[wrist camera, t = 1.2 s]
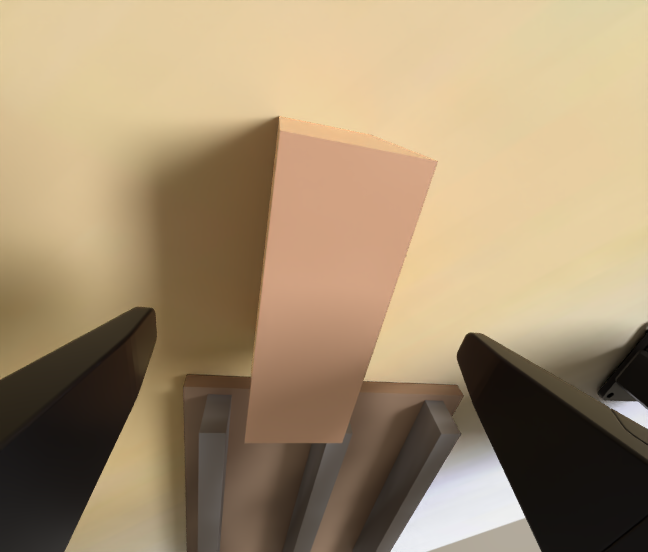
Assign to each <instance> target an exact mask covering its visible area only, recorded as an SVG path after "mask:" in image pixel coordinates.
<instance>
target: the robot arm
mask: <svg viewBox="0 0 648 552" xmlns="http://www.w3.org/2000/svg"><path fill="white" fill-rule="evenodd" d="M156 338H157V329H156V315H155V310H154V309H153V308H147V307H135V308H133V309H131V310H129V311H127V312H125V313H123V314H122V315H120V316H118V317H116V318H114V319H112V320H110V321H109V322H107V323H105V324H103V325H101V326H99V327H97V328H96V329H94V330H92V331H90V332H88V333H86V334H85V335H83V336H81V337H79V338H77V339H75V340H73V341H72V342H70V343H68V344H66V345H64V346H62V347H60V348H59V349H57V350H55V351H53V352H51V353H49V354H47V355H46V356H44V357H42V358H40V359H38V360H36V361H34V362H33V363H31V364H29V365H27V366H25V367H23V368H21V369H20V370H18V371H16V372H14V373H12V374H10V375H8V376H7V377H5V378H3V379H1V380H0V552H64V551H65V549H66V547H67V545H68V543H69V541H70V539H71V537H72V534H73V532H74V530H75V528H76V526H77V524H78V522H79V520H80V517H81V515H82V513H83V511H84V509H85V507H86V505H87V503H88V501H89V498H90V496H91V494H92V492H93V490H94V488H95V486H96V484H97V482H98V479H99V477H100V475H101V473H102V471H103V469H104V467H105V465H106V462H107V460H108V458H109V456H110V454H111V452H112V450H113V448H114V446H115V443H116V441H117V439H118V437H119V435H120V433H121V431H122V429H123V427H124V424H125V422H126V420H127V418H128V416H129V414H130V412H131V410H132V407H133V405H134V403H135V401H136V398H137V396H138V393H139V391H140V388H141V385H142V382H143V379H144V376H145V373H146V370H147V367H148V364H149V361H150V358H151V355H152V352H153V349H154V346H155V343H156ZM457 361H458V364H459V367H460V369H461V372H462V375H463V378H464V381H465V383H466V386H467V389H468V392H469V395H470V397H471V400H472V403H473V405H474V408H475V410H476V412H477V414H478V416H479V419H480V421H481V423H482V425H483V427H484V429H485V432H486V434H487V436H488V438H489V440H490V442H491V444H492V447H493V449H494V451H495V453H496V455H497V457H498V459H499V462H500V464H501V466H502V468H503V470H504V472H505V474H506V477H507V479H508V481H509V483H510V485H511V487H512V489H513V492H514V494H515V496H516V498H517V500H518V502H519V504H520V507H521V509H522V511H523V513H524V515H525V517H526V520H527V522H528V524H529V526H530V528H531V530H532V532H533V535H534V537H535V539H536V541H537V543H538V545H539V547H540V549H541V552H648V429H647V428H645V427H643V426H641V425H640V424H638V423H636V422H634V421H632V420H631V419H629V418H627V417H625V416H624V415H622V414H620V413H619V412H617V411H615V410H613V409H610V408H609V407H608V406H606V405H605V404H603V403H601V402H599V401H598V400H596V399H594V398H593V397H591V396H589V395H587V394H586V393H584V392H582V391H580V390H579V389H577V388H575V387H574V386H572V385H570V384H568V383H567V382H565V381H563V380H561V379H560V378H558V377H556V376H555V375H553V374H551V373H549V372H548V371H546V370H544V369H542V368H541V367H539V366H537V365H536V364H534V363H532V362H530V361H529V360H527V359H525V358H523V357H522V356H520V355H518V354H517V353H515V352H513V351H511V350H510V349H508V348H506V347H504V346H503V345H501V344H499V343H498V342H496V341H494V340H492V339H491V338H489V337H487V336H485V335H484V334H481V333H468V334H467V335H466V336H465V338H464V340H463V342H462V344H461V346H460V348H459V350H458V352H457ZM598 395H599V396H600V397H601V398H602V399H604V400H610V401H638V402H639V403H640V404H642V405H643V406H644V407H645V408H646V409H648V333H647V334H646V335H645V336H644V337H643V339H642V340H641V341H640V342H639V343H638V345H637V346H636V347H635V348H634V349H633V351H632V352H631V353H630V354H629V355H628V357H627V358H626V359H625V360H624V361H623V363H622V364H621V365H620V366H619V367H618V369H617V370H616V371H615V372H614V373H613V375H612V376H611V377H610V378H609V379H608V381H607V382H606V383H605V384H604V385H603V387H602V388H601V389H600V390H599V392H598Z"/></svg>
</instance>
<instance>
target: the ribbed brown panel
mask: <svg viewBox="0 0 648 552" xmlns="http://www.w3.org/2000/svg"><path fill="white" fill-rule="evenodd" d="M250 380H251V377H233V376H207V375H187V377H186V380H185V383H184V386H183V396H184V440H185V484H186V528H187V552H390V551H391V549H392V548H393V546H394V544H395V543H396V541H397V539H398V538H399V536H400V534H401V533H402V531H403V529H404V528H405V526H406V525H407V523H408V521H409V520H410V518H411V516H412V515H413V513H414V511H415V510H416V508H417V506H418V505H419V503H420V501H421V500H422V498H423V496H424V495H425V493H426V491H427V490H428V488H429V486H430V485H431V483H432V481H433V480H434V478H435V477H436V475H437V473H438V472H439V470H440V468H441V467H442V465H443V463H444V462H445V460H446V458H447V457H448V455H449V453H450V452H451V450H452V448H453V447H454V445H455V443H456V442H457V440H458V438H459V437H460V435H461V433H460V431H459V429H458V427H457V425H456V424H455V422H454V420H453V418H452V416H453V414H454V412H455V410H456V409H457V407H458V405H459V403H460V401H461V400H462V398H463V396H464V395H463V394H462V392H461V390H460V389H459V387H458V386H457V385H438V384H412V383H386V382H363V383H362V386H361V389H360V392H359V395H358V398H357V401H356V404H355V407H354V410H353V413H352V415H351V418H350V421H349V424H348V427H347V430H346V433H345V436H344V439H343V442H342V443H244V442H245V432H246V421H247V411H248V401H249V390H250Z"/></svg>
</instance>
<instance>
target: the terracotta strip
mask: <svg viewBox="0 0 648 552" xmlns="http://www.w3.org/2000/svg"><path fill="white" fill-rule="evenodd" d="M437 163H438V161H436V160H433V159H431V158H428V157H426V156H423V155H421V154H418V153H416V152H413V151H411V150H408V149H406V148H403V147H400V146H398V145H395V144H393V143H390V142H388V141H385V140H383V139H380V138H378V137H375V136H373V135H369V134H364V133H359V132H355V131H350V130H345V129H340V128H335V127H330V126H325V125H320V124H315V123H311V122H306V121H301V120H296V119H291V118H286V117H281V116H279V123H278V132H277V141H276V150H275V159H274V168H273V177H272V186H271V195H270V203H269V212H268V221H267V230H266V239H265V248H264V257H263V266H262V275H261V284H260V293H259V302H258V311H257V320H256V329H255V339H254V349H253V359H252V370H251V380H250V390H249V401H248V411H247V421H246V432H245V442H244V443H342V442H343V439H344V436H345V433H346V430H347V427H348V424H349V421H350V418H351V415H352V413H353V410H354V407H355V404H356V401H357V398H358V395H359V392H360V389H361V386H362V383H363V380H364V377H365V374H366V371H367V368H368V365H369V363H370V360H371V357H372V354H373V351H374V348H375V345H376V342H377V339H378V336H379V333H380V330H381V327H382V324H383V321H384V318H385V316H386V313H387V310H388V307H389V304H390V301H391V298H392V295H393V292H394V289H395V286H396V283H397V280H398V277H399V274H400V271H401V268H402V266H403V263H404V260H405V257H406V254H407V251H408V248H409V245H410V242H411V239H412V236H413V233H414V230H415V227H416V224H417V221H418V219H419V216H420V213H421V210H422V207H423V204H424V201H425V198H426V195H427V192H428V189H429V186H430V183H431V180H432V177H433V174H434V171H435V169H436V166H437Z"/></svg>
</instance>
